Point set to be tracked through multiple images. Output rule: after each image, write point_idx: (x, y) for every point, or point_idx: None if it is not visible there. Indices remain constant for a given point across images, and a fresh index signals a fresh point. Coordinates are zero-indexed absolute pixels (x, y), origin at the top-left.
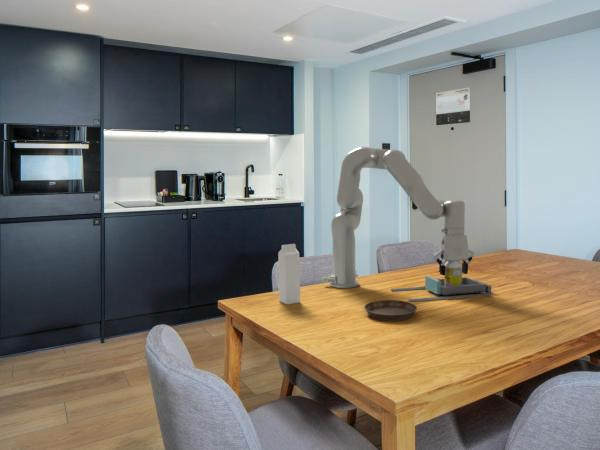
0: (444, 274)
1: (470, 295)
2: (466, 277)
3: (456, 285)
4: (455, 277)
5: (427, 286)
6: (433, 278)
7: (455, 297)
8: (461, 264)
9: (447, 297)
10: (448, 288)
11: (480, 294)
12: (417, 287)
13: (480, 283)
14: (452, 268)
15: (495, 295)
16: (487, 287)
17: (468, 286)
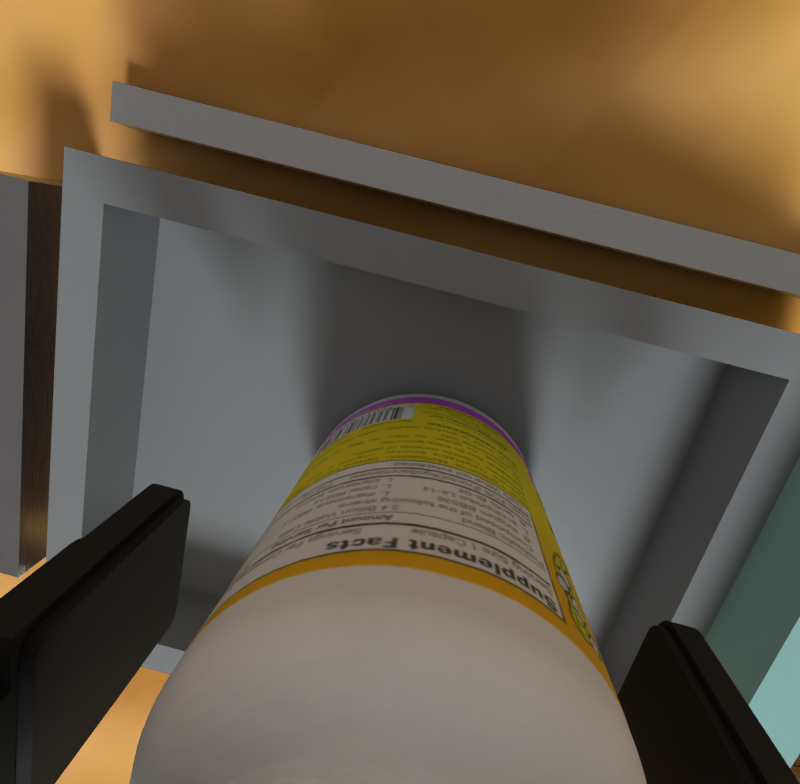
0: (688, 633)
1: (425, 161)
2: None
3: (464, 412)
4: (491, 473)
5: None
6: (775, 689)
7: (646, 218)
8: (211, 683)
9: (769, 249)
10: (746, 321)
11: (274, 122)
12: None
13: (99, 250)
14: (584, 652)
15: (74, 66)
16: (46, 196)
17: (384, 230)
